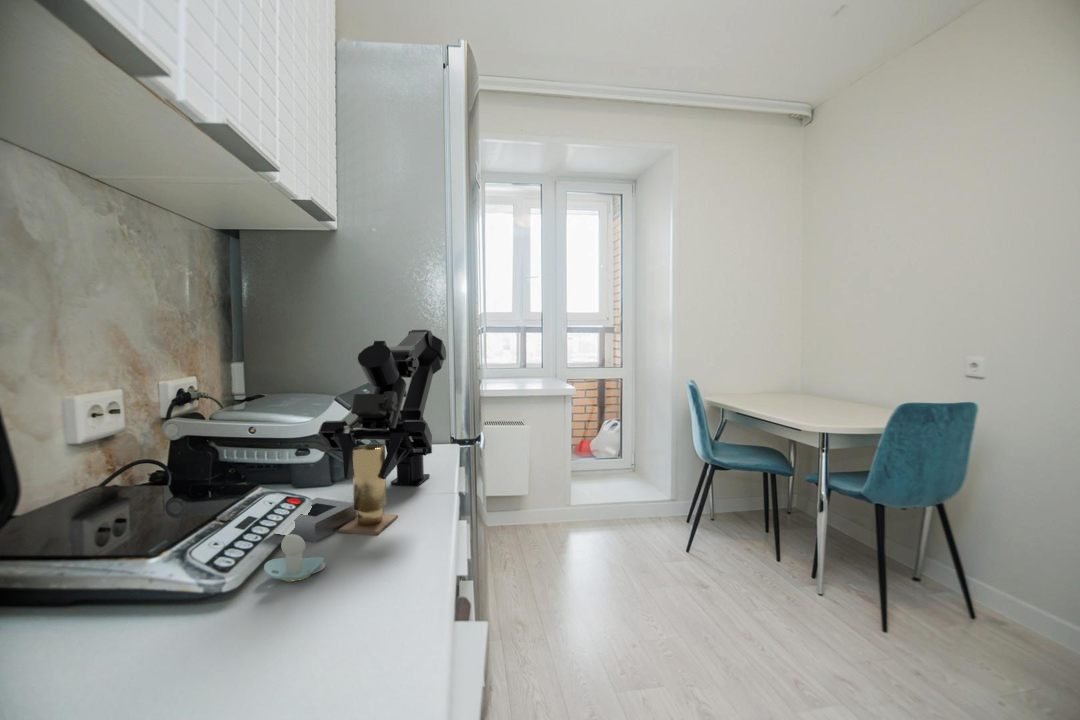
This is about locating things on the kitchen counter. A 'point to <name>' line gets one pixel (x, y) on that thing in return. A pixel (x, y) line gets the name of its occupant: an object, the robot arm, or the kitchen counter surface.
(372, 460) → the gold metal cylinder
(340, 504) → the housing
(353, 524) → the mat
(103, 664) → the kitchen counter surface
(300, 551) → the pacifier
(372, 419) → the robot arm
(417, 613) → the kitchen counter surface
